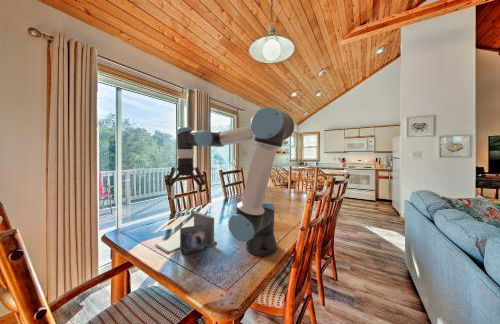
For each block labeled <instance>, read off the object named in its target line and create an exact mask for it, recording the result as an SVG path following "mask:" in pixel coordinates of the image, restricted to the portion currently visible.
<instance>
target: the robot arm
mask: <svg viewBox="0 0 500 324" xmlns="http://www.w3.org/2000/svg"><path fill="white" fill-rule="evenodd" d="M294 131H295V121H294V119H293V118H292V117H291V116H290V114H289V113H286V112H284V111H282V110H281V109H278V108H276V107H270V106H265V107H262V108H259V109H258V110H257V111H256V112H255V113H254V114H253V116H252V117H251V121H250V125H248V126H242V127H238V128H231V129H228V130H223V131H218V132H217V131H216V132H214V131H209V130H207V129H200V130H193V128H192V127H188V126H185V127H183V126H181V127H177V133H176V138H177V139H176V140H177V144H176V146H177V157H178V158H177V167H176V166H172V167H171V169H170V173H169V175H168V177H167V179H166V181H165V185H166V186H168V191H169V193H170V199H171V200H174V199H175V198H176V197H175V196H176V195H175V193H176V192H175V183H176V182H177V181H178V179H179V178H180V177H185V176H186V177H187V176H190V177H191V178H192V179H193V181H194V182H195V183H196V184H197V186H196V188H197V193H196V194H197V197H196V198H197V200H199V199H201V193H203V192H202V191H203V186H205V185H206V181H205V178H204V177H203V175H202V173H201V170H200V167H199V166H196V167H194V159H193V157H194V151H193V150H194V147H214V148H215V147H217V148H223V147H225V146H230V145H237V144H244V143H249V142H253V144H254V149H253V154H252V156H251V157H252V158H251V161H250V165H249V171H248V174H247V179H246V183H245V187H244V191H243V194H242V199H241V201H239V202H238V203H237V204H236V210H235V213H233V214H232V215H231V216H230V217H229V219H228V224H227V225H228V230H229V232H230V234H231V235H232V237H233V238H234V239H235V240H237V241H238V242H241V243H242V242H243V243H244V242H245V250H246V251H247V252H248V253H250V254H251V255H254V256H257V257H269V256H272V255H274V254H275V253H276V252H277V251H278V243H277V240H276V236H275V204H274V202H271V201H267V200H265V196H266V192H267V189H268V184H269V180H270V176H271V174H272V170H273V165H274V161H275V158H276V154H277V151H278V150H279V149H281V148H282V146H283V141H285V140H287V139H288V138H290V137H291V136H292V134H294ZM176 171H177V174H176V175H175V173H176ZM194 172H195V173H196V175H197V176H196V175H195V173H194ZM174 175H175V176H174Z"/></svg>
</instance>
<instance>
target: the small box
mask: <svg viewBox="0 0 500 324" xmlns="http://www.w3.org/2000/svg"><path fill="white" fill-rule="evenodd" d="M179 230H180V231H179V236H180V248H179V251H180V253H181V255H182V256H183V255H184V256H185V255H188V254H193V253H198V252H201V251H202V252H203V251H205V250H206V247H205V228H204V227H203V226H202V225H196V226H194V225H192V226H191V225H190V226H185V227H180V229H179Z"/></svg>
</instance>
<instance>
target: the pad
mask: <svg viewBox="0 0 500 324" xmlns="http://www.w3.org/2000/svg"><path fill="white" fill-rule="evenodd" d="M154 246H155V247H156V248H157V249H159V250H161V251H163V252H165V253H166V254H169V253H172V252H174V251H176V250H180V235H178V236H175V237H172V238H169V239H167V240H165V241H162V242H159V243H155V244H154Z"/></svg>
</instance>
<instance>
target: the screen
mask: <svg viewBox="0 0 500 324" xmlns="http://www.w3.org/2000/svg"><path fill="white" fill-rule="evenodd" d="M196 225H202V226H203V227H204V228H205V248H206V249H209V248H210V247H211V248H212V247H214V246H216V244H217V243H218V241H216V240H215V218H214V217H213V216H210V215H206V214H204V213H201V212H197V211H195V212H193V226H196Z"/></svg>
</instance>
